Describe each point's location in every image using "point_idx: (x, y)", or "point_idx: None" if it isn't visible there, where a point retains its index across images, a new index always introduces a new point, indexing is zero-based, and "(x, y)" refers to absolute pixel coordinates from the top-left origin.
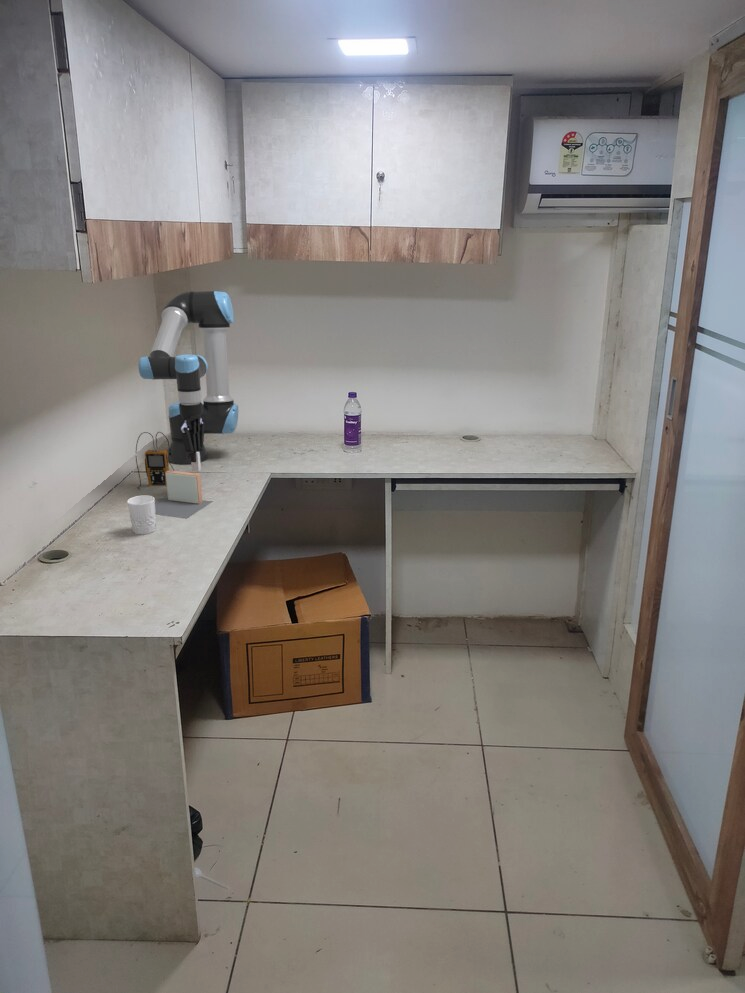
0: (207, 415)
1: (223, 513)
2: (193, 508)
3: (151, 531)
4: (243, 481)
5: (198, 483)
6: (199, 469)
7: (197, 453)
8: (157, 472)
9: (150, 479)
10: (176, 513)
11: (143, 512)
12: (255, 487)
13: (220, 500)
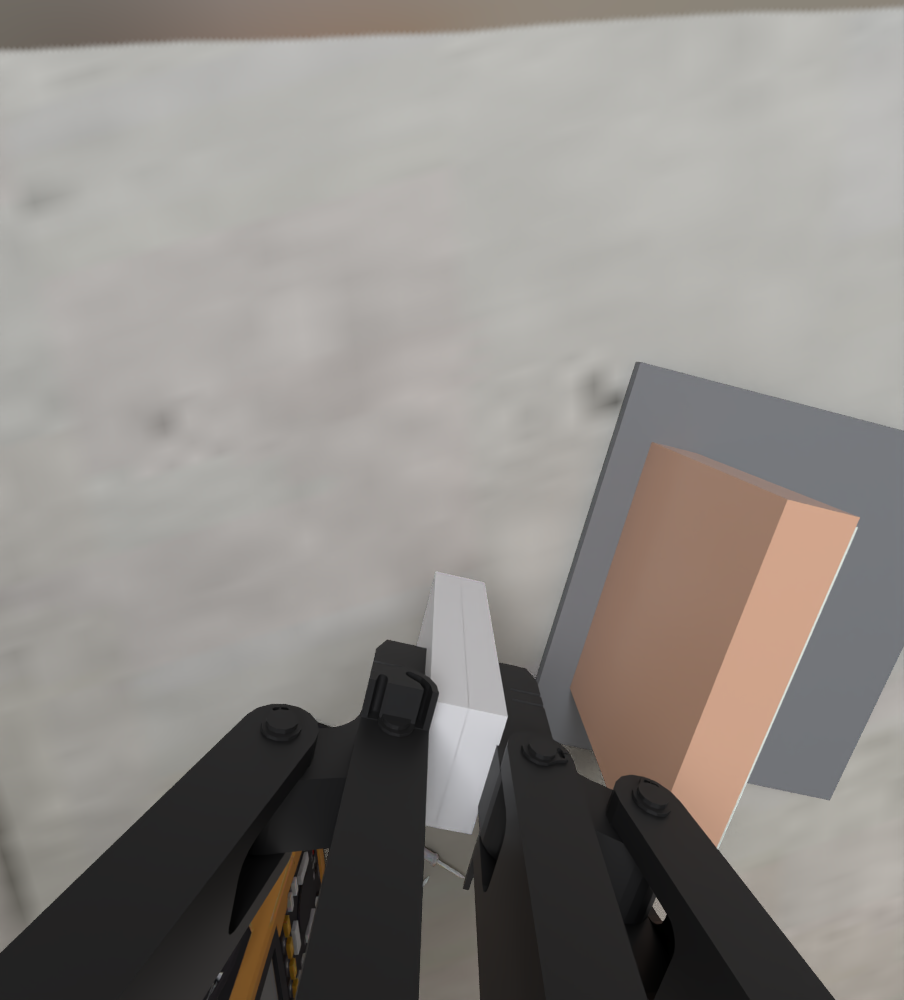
0: None
1: (868, 205)
2: (790, 469)
3: None
4: (70, 237)
5: (777, 487)
6: (469, 584)
7: (498, 708)
8: (294, 941)
9: None
10: (881, 559)
11: None
12: (210, 66)
13: (569, 317)
